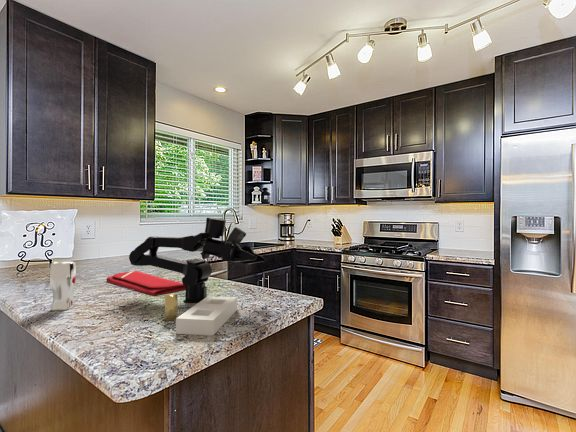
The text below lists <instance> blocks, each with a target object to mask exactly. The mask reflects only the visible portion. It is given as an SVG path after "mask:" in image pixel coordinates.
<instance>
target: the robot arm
mask: <svg viewBox="0 0 576 432" xmlns="http://www.w3.org/2000/svg"><path fill="white" fill-rule="evenodd" d="M226 221H227V220H226V219H225V218H214V217H206V219H205V223H206V224H205V229H204V232H200V233H198V234H196V235H188V236H181V237H176V236H158V235H155V236H148V237H147V238H146V239H145V240H144V241H143V242H142V243H141V244H139V245H138V246H137V247H135V248H134V249H133V250H132V251H131V252H130V253H129V256H128V260H129V263H130V265H132V266H137V267H139V266H140V267H143V266H145V267H147V266H151V267H155V268H160V269H164V270H167V271H171V272H176V273H179V274H182V275H183V277H182V278H181V283H183V285H186V289H185V290H184V291H185V294H184V295H185V299H184V300H182V301H183V302H184V303H199V302H200V301H202V300H203V299H205V298H206V297H208V294H207V293H208V287H207V286H206V282H208V280H209V278H210V277H211V275H212V273H213V272H212V266H211V264H210V263H209V262H208V261H207V260H206V259H209V258H210V256H213V257H216V258H220V259H222V261H224V262H230V263H238V262H239V263H241V264H244V265H252V264H258V263H265V262H266V258H265V257H263V256H261V255H259V254H257V253H255V251H254V249H253V247H252V246H246V245H244V246H242V244H241V242H242V241H243V239H244V238H246V236H247V233H246V232H245V231H244V230H242V229H240V228H239V227H236V226H235V227H234V228H233V229H232V230H231V232H230V233H229V235H228V236H227V239H226V240H224V239H223V240H219V239H221V237H223V236H224V234H225V227H226ZM159 248H173V249H174V248H175V249H182V250H183V251H187V252H192V253H194V252H199V251H202V252H200V253H199V254H200V255H201V258H202V260H201V259H200V258H193V259H189V260H186V261H184V260H179V259H176V258H172V257H169V256H168V257H167V256H164V255H160V254H158V250H159ZM206 261H207V262H206Z"/></svg>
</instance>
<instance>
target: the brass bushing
mask: <svg viewBox="0 0 576 432" xmlns="http://www.w3.org/2000/svg"><path fill="white" fill-rule="evenodd" d="M178 297H179V296H178V294H177V293H166V294H164V321H168V322H170V321H171V322H172V321H176V318H177V317H179V316H178V307H179V306H178V303H179V302H178V299H179V298H178Z"/></svg>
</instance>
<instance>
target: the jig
mask: <svg viewBox="0 0 576 432" xmlns="http://www.w3.org/2000/svg"><path fill="white" fill-rule="evenodd" d="M237 310H238V297H232V296H231V297H230V296H229V297H228V296H226V297H225V296H207V297H206V298H205V299H203V300H202V301H200V302H199V303H198V302H196V303H195V304H194V305H193V306H192V307H190V308H189V309H187V310H186V311H185V312H183V313H182V314H181V315H179V316H177V318H176V320H175V334H177V335H193V336H196V335H197V336H208V337H213V336H214V335H215V334H216V333H217V332H218V331H219V330H220V329H221V328H222V327H223V325H225V323H227V321H229V320H230V318H232V316H233V315H234V314H235V313H236V312H237Z"/></svg>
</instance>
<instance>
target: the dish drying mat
mask: <svg viewBox="0 0 576 432" xmlns="http://www.w3.org/2000/svg"><path fill="white" fill-rule="evenodd" d="M106 282H107V283H109V284H112V285H116V286H119V287H123V288H127V289H130V290H132V291H135V292H136V291H137V292H140V293H144V294H146V295H150V296H155V297H157V296H160V295H166V294H171V293H174V292H178V291H183V290H184V291H185V290H186V285H183V283H182V282H179V281H175V280H172V279H166V278H163V277H159V276H157V275H152V274H148V273H144V272H140V271H138V270H133V271H124V272H118V273H115V274H113V275H111V276H107V277H106Z"/></svg>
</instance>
